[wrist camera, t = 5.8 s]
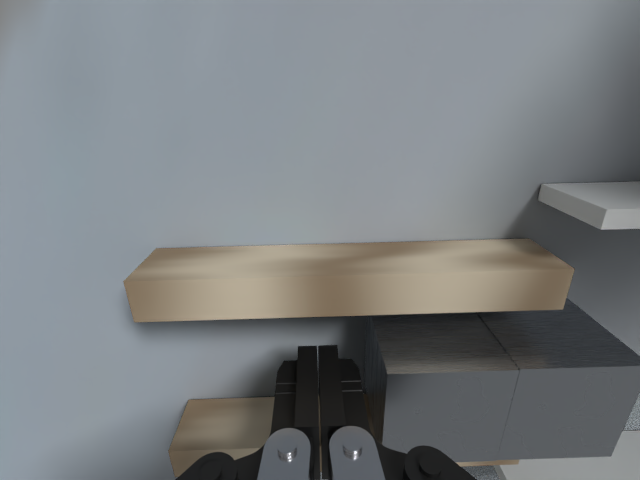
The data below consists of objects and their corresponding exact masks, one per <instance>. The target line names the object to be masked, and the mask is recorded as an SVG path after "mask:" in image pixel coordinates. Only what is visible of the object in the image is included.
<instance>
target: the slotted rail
mask: <svg viewBox="0 0 640 480" xmlns="http://www.w3.org/2000/svg"><path fill="white" fill-rule="evenodd" d="M574 270H575V269H574V268H573V267H571V266H570V265H568V264H567V263H565V262H564V261H562V260H561V259H559V258H558V257H556V256H555V255H553V254H552V253H550V252H549V251H547V250H546V249H544V248H543V247H541V246H540V245H538V244H537V243H535V242H534V241H532V240H531V239H493V240H455V241H417V242H380V243H342V244H305V245H267V246H230V247H192V248H156V249H155V250H154V251H153V252H152V253H151V254H150V255H149V256H148V257H147V258H146V259H145V260H144V261H143V262H142V263H141V264H140V265H139V266H138V267H137V268H136V269H135V270H134V271H133V272H132V273H131V274H130V275H129V276H128V277H127V278H126V279H125V280H124V281H123V282H124V286H125V289H126V293H127V297H128V301H129V305H130V308H131V312H132V316H133V320H134V322H162V321H196V320H229V319H263V318H296V317H330V316H363V315H397V314H430V313H464V312H497V311H531V310H563V308H564V305H565V301H566V298H567V294H568V291H569V287H570V284H571V280H572V277H573V274H574ZM363 395H364V401H365V406H366V412H367V417H368V423H369V428H370V431H371V433H372V435H373V436H374V438H375V433H374V428H373V423H372V417H371V412H370V407H369V402H368V396H367V394H363ZM274 399H275V397H255V398H225V399H195V400H188V403H187V405H186V408H185V410H184V413H183V415H182V418H181V420H180V423H179V426H178V428H177V431H176V433H175V436H174V438H173V441H172V443H171V446H170V448H169V451H168V452H169V456H170V460H171V464H172V467H173V471H174V475H175V477H179V476H180V475H181V474H182V473H184V472H185V471H186V470H187V469H188V468H189V467H190V466H191V465H192V464H193V463H194V462H196V461H197V460H198V459H199V458H201V457H202V456H204V455H206V454H209V453H212V452H223V453H226V454H228V455H230V456H231V457H232V458H233V459H234V460H236V459H239V458H242V457H245V456H248V455H250V454H252V453H254V452H256V451H257V450H259V449H260V448H261V447H262V446H263V445H264V444H265V443H266V441H267V439H268V438H269V435H270V432H271V425H272V416H273V408H274ZM318 403H319V440H320V472H322V458H321V429H320V400H319V395H318ZM375 439H376V438H375ZM455 463H457V464H458V465H459V466H460V467H462V466H489V465H516V464H518V463H519V460H496V461H483V462H455Z"/></svg>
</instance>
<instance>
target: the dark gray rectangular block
mask: <svg viewBox="0 0 640 480" xmlns="http://www.w3.org/2000/svg"><path fill="white" fill-rule="evenodd" d="M519 372H520V370H519V368H518V367H517V366H516V364H515V363H514V362H513V360H512V359H511V358H510V357H509V355H508V354H507V353H506V351H505V350H504V349H503V347H502V346H501V345H500V343H499V342H498V341H497V339H496V338H495V337H494V335H493V334H492V333H491V331H490V330H489V329H488V328H487V326H486V325H485V324H484V322H483V321H482V320H481V318H480V317H479V316H478V314H477V313H476V312H464V313H430V314H397V315H367V322H366V345H365V368H364V381H365V386H366V391H367V396H368V402H369V407H370V412H371V417H372V423H373V428H374V433H375V438H376V440H377V441H378V442H379V443H380V444H382V445H383V446H385V447H387V448H389V449H392V450H396V451H399V452H403V453H406V454H407V453H408V452H409V451H410V450H411V449H412V448H414V447H417V446H422V445H424V446H431V447H434V448H436V449H438V450H440V451H442V452H443V453H444V454H446V455H447V456H448V457H449V458H450V459H452V460H453V461H454V462H483V461H496V460H497V456H498V452H499V448H500V445H501V441H502V437H503V433H504V429H505V425H506V422H507V418H508V414H509V410H510V406H511V403H512V399H513V395H514V391H515V387H516V383H517V379H518V376H519Z"/></svg>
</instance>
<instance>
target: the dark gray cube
mask: <svg viewBox="0 0 640 480" xmlns="http://www.w3.org/2000/svg"><path fill="white" fill-rule="evenodd" d="M476 313H477V314H478V316H479V317H480V318H481V320H482V321H483V322H484V324H485V325H486V326H487V328H488V329H489V330H490V331H491V333H492V334H493V335H494V337H495V338H496V339H497V341H498V342H499V343H500V345H501V346H502V347H503V349H504V350H505V351H506V353H507V354H508V355H509V357H510V358H511V359H512V360H513V362H514V363H515V364H516V366H517V367H518V368H519V370H520V372H519V376H518V379H517V383H516V387H515V391H514V395H513V399H512V403H511V406H510V410H509V414H508V418H507V422H506V425H505V429H504V433H503V437H502V441H501V445H500V448H499V452H498V456H497V460H521V459H551V458H582V457H611V456H612V453H613V451H614V449H615V447H616V444H617V442H618V440H619V438H620V435H621V433H622V431H623V429H624V426H625V424H626V422H627V420H628V417H629V415H630V413H631V411H632V408H633V406H634V404H635V402H636V399H637V397H638V395H639V393H640V356H639V355H637V354H636V353H635V352H634V351H632V350H631V349H630V348H629V347H627V346H626V345H625V344H624V343H623V342H621V341H620V340H619V339H618V338H616V337H615V336H614V335H613V334H611V333H610V332H609V331H608V330H606V329H605V328H604V327H603V326H601V325H600V324H599V323H598V322H596V321H595V320H594V319H593V318H591V317H590V316H589V315H588V314H586V313H585V312H584V311H583V310H581V309H580V308H579V307H578V306H576V305H575V304H574V303H573V302H571V301H570V300H569V299H568V298H566V301H565V305H564V308H563V310H531V311H497V312H476Z"/></svg>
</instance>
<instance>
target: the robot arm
mask: <svg viewBox="0 0 640 480" xmlns="http://www.w3.org/2000/svg"><path fill="white" fill-rule="evenodd" d="M318 359H319V400H320V429H321V458H322V479H329V480H477V479H475V478H474V477H473V476H472V475H470V474H469V473H468V472H467V471H465V470H464V469H463V468H462V467H460V466H459V465H458V464H457V463H455V462H454V461H453V460H452V459H450V458H449V457H448V456H447V455H446V454H444V453H443V452H442V451H440V450H438V449H436V448H434V447H431V446H424V445H422V446H417V447H414V448H412V449H411V450H410V451H409V452H408V453H407V454H406V453H403V452H399V451H396V450H392V449H389V448H387V447H385V446H383V445H382V444H380V443H379V442H378V441H377V440H376V439H375V438H374V436H373V435H372V433H371V431H370V428H369V423H368V417H367V412H366V406H365V401H364V395H363V391H362V384H361V379H360V373H359V368H358V367H357V366H356V364H355V363H354V362H353V360H352V359H339V358H338V349H337V345H324V346H318ZM176 480H320V440H319V403H318V370H317V346H298V359H297V360H295V361H284V362H283V364H282V365H281V367H280V368H279V370H278V372H277V381H276V390H275V399H274V408H273V416H272V425H271V432H270V435H269V438H268V439H267V441H266V443H265V444H264V445H263V446H262V447H261V448H260V449H259V450H257V451H256V452H254V453H252V454H250V455H248V456H245V457H242V458H239V459H236V460H234V459H233V458H232V457H231V456H230V455H228V454H226V453H223V452H212V453H209V454H206V455H204V456H202V457H201V458H199V459H198V460H197V461H196V462H194V463H193V464H192V465H191V466H190V467H189V468H188V469H187V470H186V471H185V472H184V473H182V474H181V475H180V476H179V477H178V478H177V479H176Z"/></svg>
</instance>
